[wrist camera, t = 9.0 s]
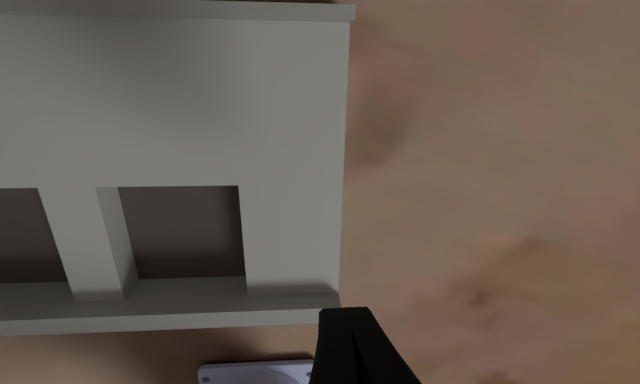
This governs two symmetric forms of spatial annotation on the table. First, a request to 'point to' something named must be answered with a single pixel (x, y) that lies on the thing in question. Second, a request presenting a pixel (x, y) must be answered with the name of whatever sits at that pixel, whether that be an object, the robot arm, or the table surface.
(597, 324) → the table surface
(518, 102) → the table surface
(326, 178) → the tray
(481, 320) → the table surface
